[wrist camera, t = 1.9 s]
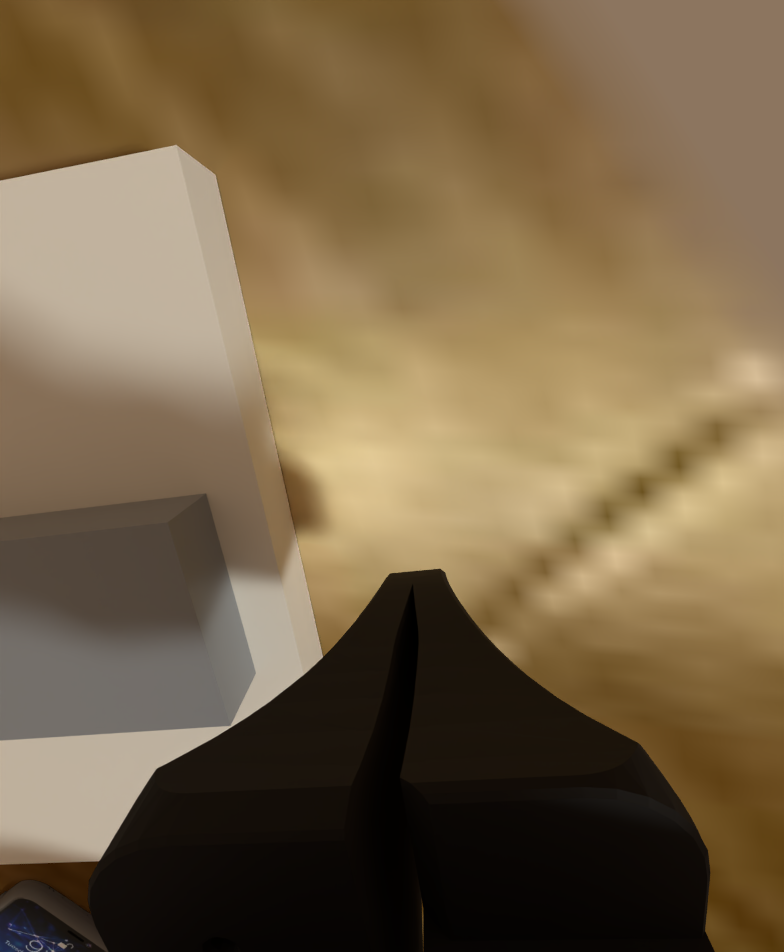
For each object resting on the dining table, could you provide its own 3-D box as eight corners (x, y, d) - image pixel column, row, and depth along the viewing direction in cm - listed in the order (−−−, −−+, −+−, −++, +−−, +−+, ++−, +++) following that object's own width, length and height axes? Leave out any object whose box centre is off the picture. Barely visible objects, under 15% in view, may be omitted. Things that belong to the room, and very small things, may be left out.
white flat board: (354, 798, 18) (346, 852, 16) (37, 813, 20) (-4, 864, 18) (215, 174, 12) (176, 145, 10) (-239, 262, 13) (-349, 251, 11)
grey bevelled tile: (256, 673, 14) (230, 726, 12) (-4, 692, 15) (-65, 744, 13) (206, 493, 13) (167, 522, 11) (-84, 528, 13) (-168, 560, 12)
